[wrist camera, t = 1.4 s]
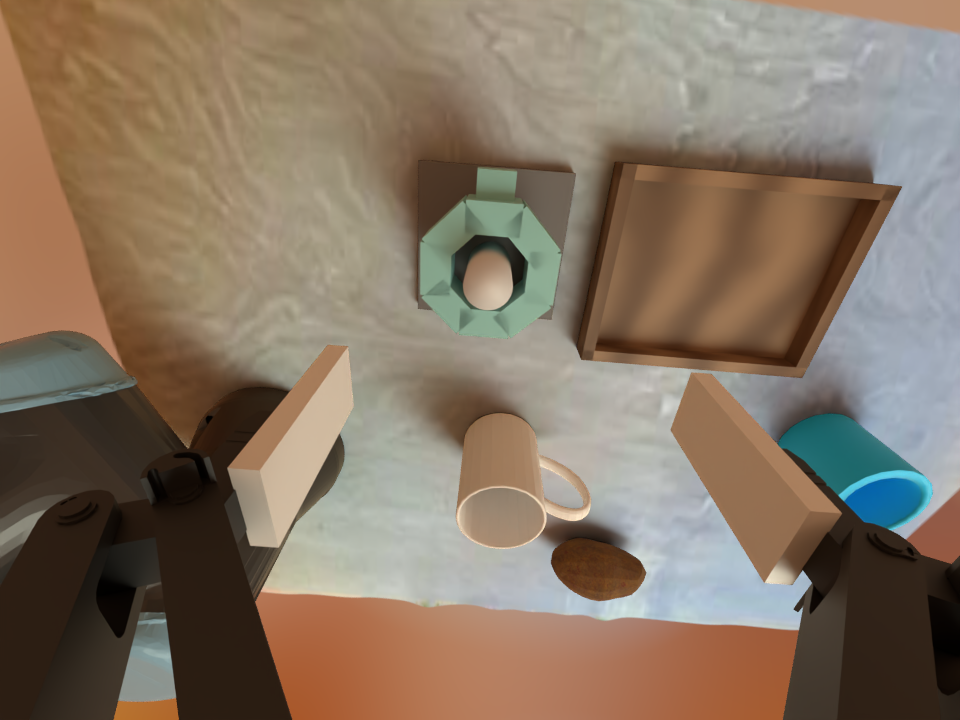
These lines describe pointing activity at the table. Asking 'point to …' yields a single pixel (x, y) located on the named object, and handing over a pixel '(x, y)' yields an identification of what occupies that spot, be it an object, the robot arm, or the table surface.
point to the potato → (597, 569)
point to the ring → (492, 217)
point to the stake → (491, 259)
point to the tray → (724, 267)
